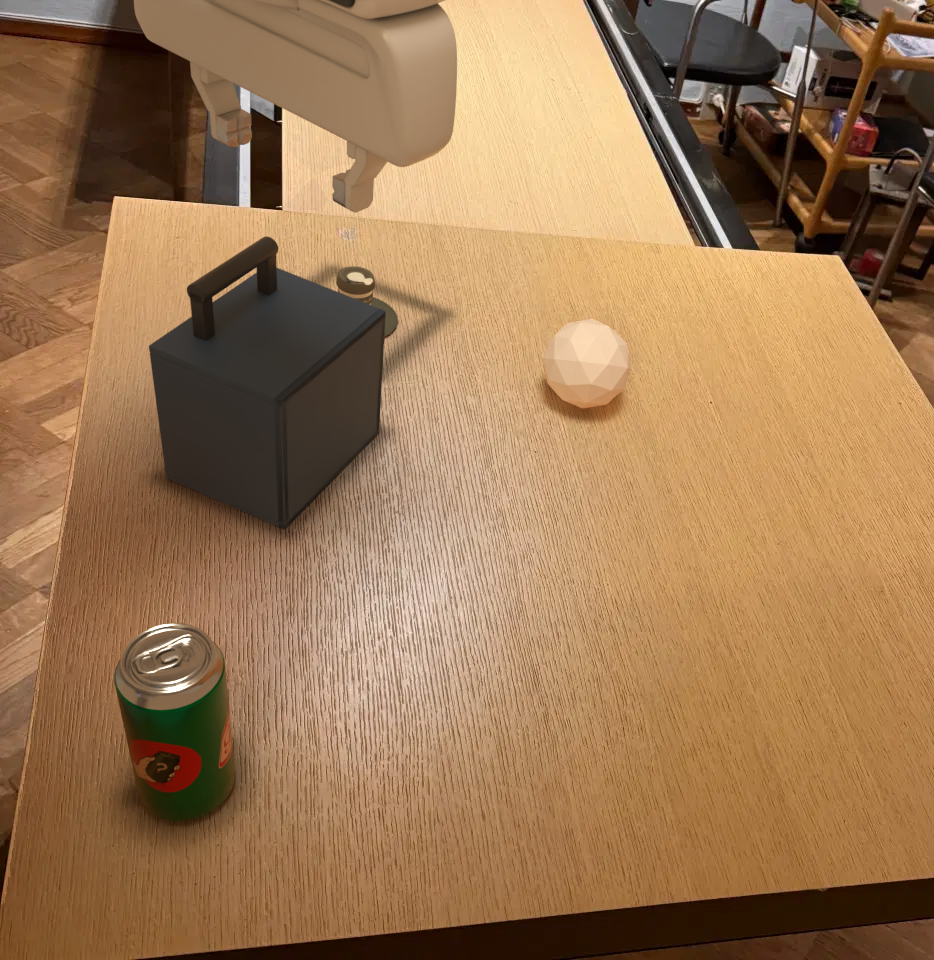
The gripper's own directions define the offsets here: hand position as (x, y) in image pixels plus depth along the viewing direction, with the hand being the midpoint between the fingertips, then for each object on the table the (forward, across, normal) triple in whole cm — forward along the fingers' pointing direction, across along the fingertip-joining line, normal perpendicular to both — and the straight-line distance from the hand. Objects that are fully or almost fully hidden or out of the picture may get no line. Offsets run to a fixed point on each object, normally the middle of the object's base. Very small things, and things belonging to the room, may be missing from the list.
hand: (291, 172), depth 59 cm
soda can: (+26, +13, -22) cm, 36 cm away
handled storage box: (+18, +1, +3) cm, 18 cm away
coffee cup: (+26, -12, +19) cm, 35 cm away
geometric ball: (+26, +9, +26) cm, 38 cm away
